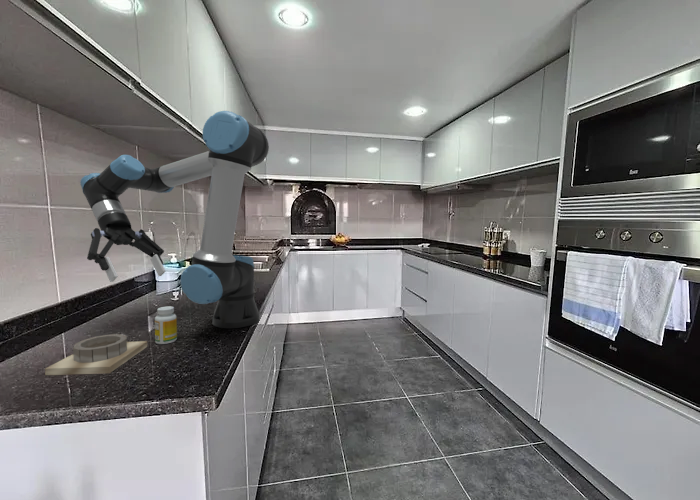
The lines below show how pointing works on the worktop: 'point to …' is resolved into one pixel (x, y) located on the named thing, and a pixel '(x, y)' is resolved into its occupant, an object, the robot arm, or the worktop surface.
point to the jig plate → (95, 366)
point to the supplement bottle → (165, 325)
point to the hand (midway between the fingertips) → (139, 276)
